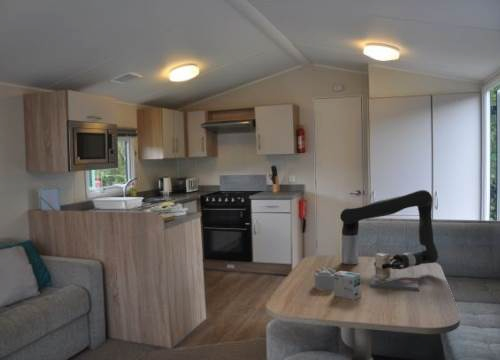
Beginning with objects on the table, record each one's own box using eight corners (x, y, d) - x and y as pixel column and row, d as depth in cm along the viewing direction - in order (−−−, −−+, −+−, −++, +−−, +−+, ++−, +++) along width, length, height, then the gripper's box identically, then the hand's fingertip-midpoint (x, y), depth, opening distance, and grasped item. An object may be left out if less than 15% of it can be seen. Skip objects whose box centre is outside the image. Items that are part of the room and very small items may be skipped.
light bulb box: (361, 296, 197) (361, 273, 197) (354, 300, 192) (353, 277, 192) (341, 292, 205) (340, 269, 204) (333, 295, 200) (333, 273, 199)
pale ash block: (382, 279, 213) (382, 255, 212) (375, 277, 217) (375, 253, 216) (390, 278, 215) (389, 254, 214) (383, 275, 219) (382, 252, 218)
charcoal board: (370, 287, 210) (370, 283, 210) (372, 277, 225) (372, 274, 225) (418, 290, 203) (418, 286, 203) (417, 280, 218) (417, 277, 218)
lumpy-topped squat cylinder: (313, 289, 209) (313, 272, 209) (317, 281, 222) (317, 265, 221) (335, 291, 206) (334, 273, 206) (337, 283, 219) (337, 266, 218)
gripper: (394, 251, 228) (368, 255, 221) (414, 256, 215) (388, 261, 208) (394, 264, 228) (369, 269, 221) (415, 271, 215) (388, 276, 208)
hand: (378, 265), depth 214 cm, fingers closed on pale ash block, 5 cm apart
